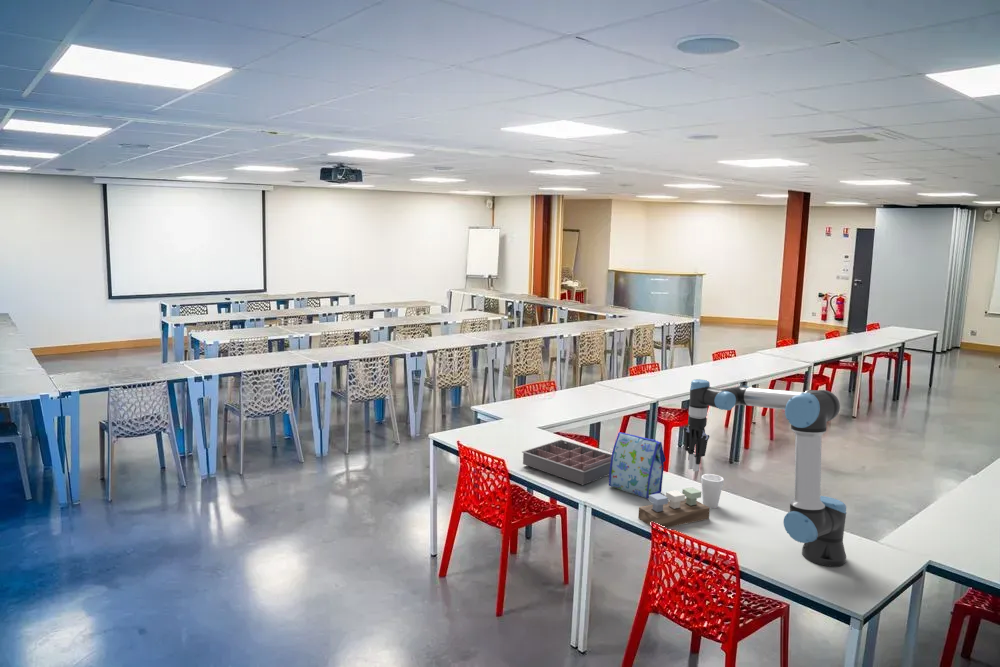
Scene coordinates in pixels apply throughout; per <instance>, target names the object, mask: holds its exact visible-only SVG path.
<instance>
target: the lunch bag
mask: <svg viewBox="0 0 1000 667" xmlns="http://www.w3.org/2000/svg"><path fill="white" fill-rule="evenodd" d="M663 448H664V447H663V443H662V442H661V441H658V440H656V439H654V438H653V439H652V438H647V437H644V436H639V435H635V434H630V433H626V432H620V431H619V432H618V433H617V436H616V439H615V442H614V445H613V447H612V451H611V452H612V453H611V454H612V457H611V463H610V470H609V475H608V487H611V488H614V489H617V490H621V491H624V492H626V493H630V494H632V495H636V496H638V497H642V498H645V499H647V500H649V495H652V494H658V493H660V494H662V488H663V487H662V485H663V478H664V463H665V462H666V461H667V460H666V456H665V452H664V449H663Z"/></svg>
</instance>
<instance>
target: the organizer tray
mask: <svg viewBox="0 0 1000 667" xmlns="http://www.w3.org/2000/svg"><path fill="white" fill-rule="evenodd" d="M521 453H523V454H522V455H523V456H522V458H523V460H522V461H523V462H522V464H523V465H525V466H528V467H531V468H533V469H535V470H538V471H542V472H545V473H547V474H549V475H553V476H556V477H560V478H563V479H565V480H567V481H570V482H573V483H577V484H580V485H582V486H584V485H586V484H589V483H592V482H594V481H597V480H600V479H601V478H604V477H606V476H609V470H610V463H611V457H612V453H608V452H605V451H602V450H599V449H594V448H591V447H588V446H585V445H581V444H577V443H574V442H570V441H567V440H564V439H558V440H554V441H552V442H548V443H544V444H542V445H539V446H536V447H532V448H529V449H525V450H522V451H521Z"/></svg>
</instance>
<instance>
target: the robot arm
mask: <svg viewBox="0 0 1000 667" xmlns="http://www.w3.org/2000/svg"><path fill="white" fill-rule="evenodd" d="M735 406H749V407H758V408H767V409H776V410H783V411H784V414H785V418H786V420H787V421H788V423H789V424H790V429H791V431H792V432H794V434H795V440H794V441H795V445H794V446H795V450H794V451H795V452H794V459H795V460H794V462H795V463H794V497H793V498H792V499H791V500H790V501H789V511H788V512H787V513H786V514H785V515H784V517H783V528H784V530H785V531H786V533H787V534H788V535H789V536H790V538H791V539H793V540H794V541H796V542H798V543H800V544H801V543H802V544H803V545H802V547H801V555H802V557H804V558H805V559H806V560H807V561H810V562H811V563H814V564H817V565H820V566H824V567H833V568H834V567H835V568H836V567H842V566H845V565H846V563H847V553H846V550H845V546H844V545H845V544H844V535H845V527H846V526H845V524H846V518H847V517H846V516H847V505H846V503H844V502H843V501H841V500H839V499H836V498H834V497H831V496H825V495H821V494H822V493H821V492H822V490H821V489H822V488H821V485H822V484H821V482H822V438H823V437H822V436H823V435H824V434H825V433H826V432H827V423H828V422H830V421H832V420H834V419H835V418H836V417H837V416H838V414H839V413H840V409H841V403H840V400H839V399H838V397H837V395H835V393H833V392H832V391H829V390H825V389H819V390H818V389H817V390H815V389H814V390H813V389H807V390H805V392H804V391H796V390H795V391H794V390H784V389H783V390H782V389H772V388H771V389H770V388H760V387H750V386H748V385H738V386H733V387H727V388H721V389H720V388H714V387H711V386H710V381H708V380H706V379H700V378H699V379H693V380H691V383H690V389H689V406H688V418H687V419H688V420H687V424H688V426H687V427H684V428H683V431H684V450H685V452H687V453H688V455H687V456H688V470H692V472H699V471H700V466H701V461H702V460H701V459H702V457H706V452H707V448H708V442H709V439H710V437H711V436H710V434H706V426H707V423H708V422H707V421H708V418H707V417H708V407H713V408H716V409H718V410H720V411H721V410H723V411H731V410H732V409H734V408H735Z"/></svg>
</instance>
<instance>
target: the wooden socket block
mask: <svg viewBox="0 0 1000 667" xmlns="http://www.w3.org/2000/svg"><path fill="white" fill-rule="evenodd" d="M669 505H670V500H668V504H663V511H660V512H656V511H654V510H653V504H649V505H644V506H639V507H638V517H637V518H638V519H639V520H640V521H642V522H644V523H645V524H647V525H649V526H650V522H651V521H653V522H655V523H658V524H660V525H662V526H665V527H667V528H671V527H676V526H681V525H685V524H690V523H696V522H701V521H705V520H710V510H711V508H709V507H707V506H706V505H704V504H703V502H700V501H698V500H697V501H696V505H689V504H687V503H686V497H685V501H680V508H676V509H674V508H672V507H670V506H669Z"/></svg>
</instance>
